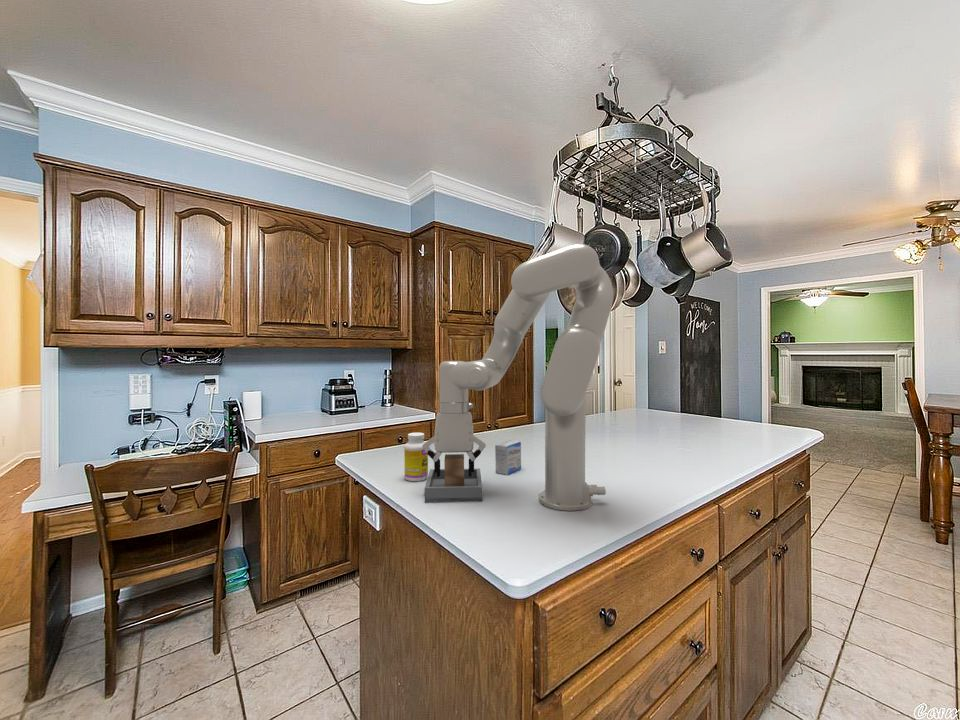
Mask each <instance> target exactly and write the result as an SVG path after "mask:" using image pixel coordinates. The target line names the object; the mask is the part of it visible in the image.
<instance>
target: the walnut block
mask: <svg viewBox="0 0 960 720" xmlns="http://www.w3.org/2000/svg"><path fill="white" fill-rule="evenodd" d="M443 465H444V469H445V487H447V486H464V469H465V454H464V453H454V454H452V453H449V454H446V453H445V455H444V464H443Z"/></svg>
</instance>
